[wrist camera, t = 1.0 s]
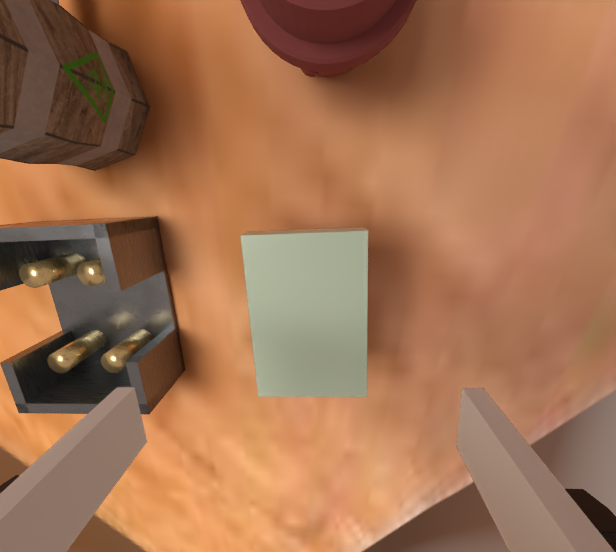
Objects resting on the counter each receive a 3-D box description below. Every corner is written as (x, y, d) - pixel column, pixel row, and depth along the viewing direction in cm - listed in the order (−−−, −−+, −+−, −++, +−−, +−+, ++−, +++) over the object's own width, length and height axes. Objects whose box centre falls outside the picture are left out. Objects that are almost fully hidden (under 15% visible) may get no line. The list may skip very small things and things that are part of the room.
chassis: (35, 221, 28) (-50, 230, 22) (157, 216, 27) (105, 223, 21) (79, 370, 32) (18, 413, 26) (185, 369, 31) (149, 414, 25)
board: (248, 231, 21) (240, 235, 19) (364, 226, 20) (368, 230, 18) (263, 379, 24) (258, 396, 22) (363, 379, 23) (366, 396, 21)
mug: (153, 175, 26) (14, 162, 14) (36, 165, 26) (-190, 145, 15) (139, -51, 22) (-76, -329, 10) (-1, -58, 22) (-362, -332, 10)
